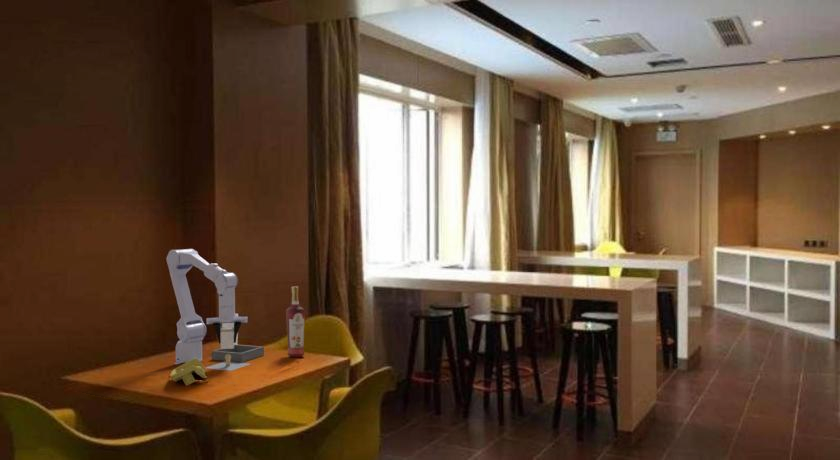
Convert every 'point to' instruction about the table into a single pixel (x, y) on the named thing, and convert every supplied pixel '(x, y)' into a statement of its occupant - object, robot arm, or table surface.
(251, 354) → the bin
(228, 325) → the drinking glass
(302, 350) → the liquor
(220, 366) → the base
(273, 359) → the table surface
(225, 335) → the light grey block
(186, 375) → the plastic component
